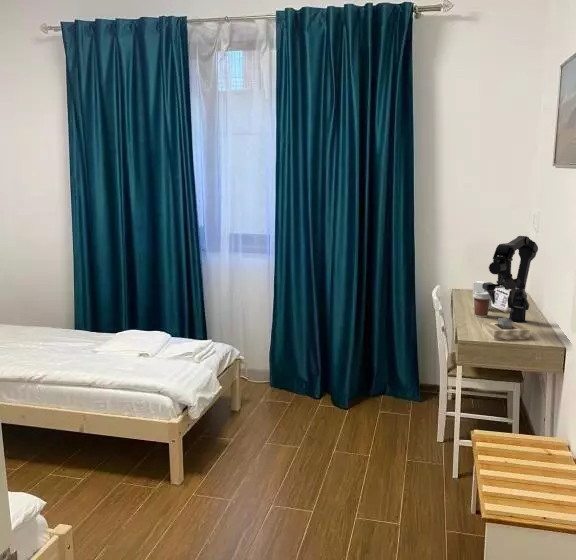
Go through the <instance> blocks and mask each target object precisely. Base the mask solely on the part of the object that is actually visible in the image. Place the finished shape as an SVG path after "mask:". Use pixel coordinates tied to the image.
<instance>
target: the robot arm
mask: <svg viewBox="0 0 576 560" xmlns="http://www.w3.org/2000/svg"><path fill="white" fill-rule="evenodd" d="M516 251H518V253H517V254H518V256H519V258H520V261H519V265H518V266H519V267H518V271H517V275H516V278H513V273H512V261H514V258H513V257H514V255H515V254H516ZM538 251H539V247H538V244H537V242H535V241H533V240H532V239H531V238H530V237H529V236H527V235H518V236H516V238H514V239H512V240H511V241H509V242H505V243H499V244H498V245H497V246H496V248H495V251H494V254H493V256H492V261H491V263H490V264H489V266H488V270H489V273H490V274H492V275H497V280H496V282H495V283H493V282H491V281H486V282H487V283H483V285H482V288H483V289H485V290H486V291H488V293H489V295H490V298H491V304H493V305H495V302H496V301H495V300H496V289H501V288H504V290H507V291H509V292H508V296H507V300H506V301H507V308H509V309H510V311H509V318H508V319H509V320H511V321H512V322H516V323H527V319H526V315H527V314H526V312H527V311H528V310H529V309H530V303H529V301H528V298H527V297H528V295H527V292H526V286H527V281H528V277H529V271H530V268H531V262H532V261H533V260H534V259H535V258H536V255H537V253H538Z"/></svg>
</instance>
